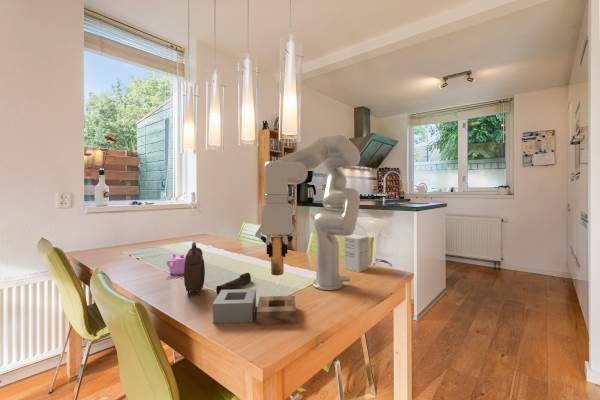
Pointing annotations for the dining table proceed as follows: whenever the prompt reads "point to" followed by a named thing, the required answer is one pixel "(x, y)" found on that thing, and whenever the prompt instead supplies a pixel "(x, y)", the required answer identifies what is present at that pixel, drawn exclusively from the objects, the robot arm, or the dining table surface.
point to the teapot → (177, 264)
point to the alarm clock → (194, 269)
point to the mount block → (276, 310)
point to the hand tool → (235, 283)
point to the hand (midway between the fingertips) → (277, 255)
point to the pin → (277, 255)
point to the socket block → (234, 306)
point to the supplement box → (356, 252)
